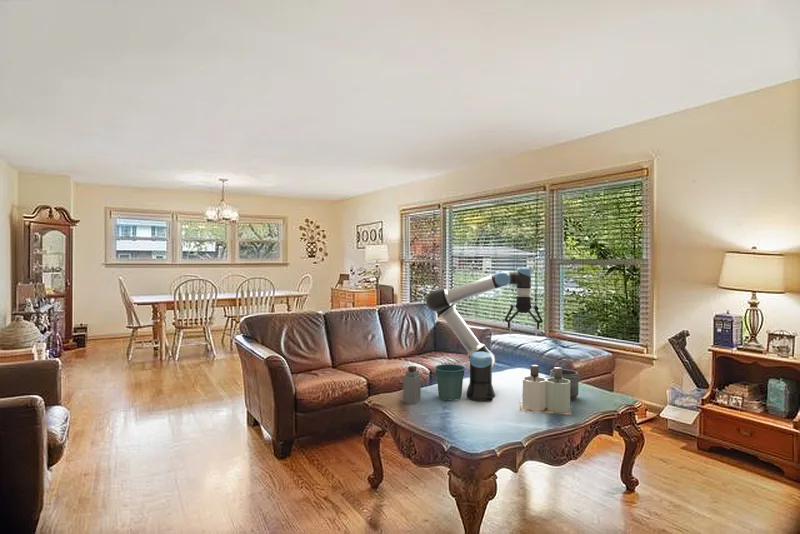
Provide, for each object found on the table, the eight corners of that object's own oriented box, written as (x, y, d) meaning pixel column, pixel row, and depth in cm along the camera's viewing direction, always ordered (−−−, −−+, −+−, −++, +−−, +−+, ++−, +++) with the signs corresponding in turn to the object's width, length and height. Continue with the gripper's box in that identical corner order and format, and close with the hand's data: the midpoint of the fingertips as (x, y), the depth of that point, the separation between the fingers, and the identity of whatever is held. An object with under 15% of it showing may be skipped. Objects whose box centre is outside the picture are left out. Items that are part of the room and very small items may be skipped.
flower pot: (436, 402, 243) (436, 371, 243) (432, 393, 259) (433, 364, 259) (467, 402, 244) (468, 371, 243) (462, 392, 260) (462, 363, 260)
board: (519, 413, 227) (519, 410, 227) (519, 404, 240) (519, 402, 240) (572, 417, 221) (572, 414, 221) (568, 408, 235) (568, 405, 235)
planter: (580, 404, 240) (580, 375, 240) (551, 403, 243) (551, 374, 243) (575, 396, 254) (576, 369, 254) (548, 395, 257) (548, 367, 257)
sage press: (546, 411, 225) (547, 370, 225) (544, 402, 239) (545, 363, 239) (570, 413, 223) (571, 371, 222) (567, 404, 236) (568, 364, 236)
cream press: (522, 409, 228) (523, 381, 227) (522, 401, 242) (522, 374, 241) (546, 411, 225) (546, 382, 225) (544, 402, 239) (544, 375, 239)
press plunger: (525, 398, 229) (525, 367, 228) (525, 394, 237) (525, 363, 236) (543, 400, 227) (544, 368, 226) (542, 395, 235) (543, 364, 234)
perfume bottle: (403, 402, 243) (403, 367, 242) (409, 398, 249) (409, 364, 248) (415, 404, 240) (415, 368, 239) (420, 400, 246) (420, 366, 245)
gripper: (500, 295, 257) (499, 334, 257) (548, 297, 251) (547, 336, 251) (500, 294, 264) (500, 332, 264) (547, 296, 258) (546, 334, 258)
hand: (523, 334), depth 258 cm, fingers open, 13 cm apart
